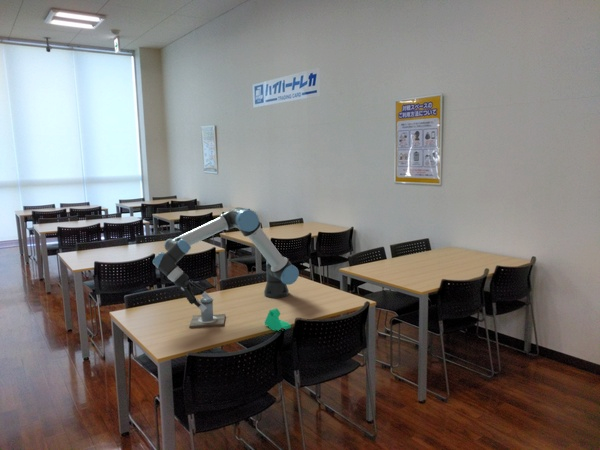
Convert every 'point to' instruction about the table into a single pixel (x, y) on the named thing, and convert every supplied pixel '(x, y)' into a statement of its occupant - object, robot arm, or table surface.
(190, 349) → the table surface
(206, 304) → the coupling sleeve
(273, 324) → the green toy figure
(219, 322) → the mounting plate
